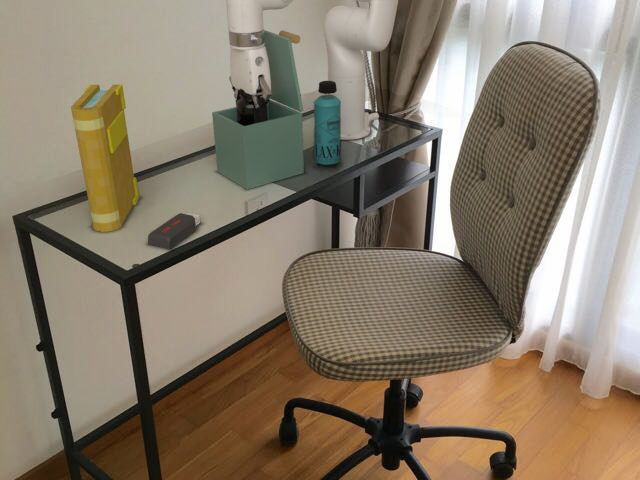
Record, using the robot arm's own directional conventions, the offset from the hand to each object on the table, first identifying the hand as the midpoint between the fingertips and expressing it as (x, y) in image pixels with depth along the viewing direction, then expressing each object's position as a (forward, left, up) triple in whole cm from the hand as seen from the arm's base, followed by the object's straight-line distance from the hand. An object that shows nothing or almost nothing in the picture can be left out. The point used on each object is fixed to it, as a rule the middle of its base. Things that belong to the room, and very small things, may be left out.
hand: (252, 119), depth 177 cm
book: (+36, +1, -13) cm, 38 cm away
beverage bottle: (-16, +7, -13) cm, 22 cm away
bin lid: (-7, 0, +10) cm, 12 cm away
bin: (-1, 0, -13) cm, 13 cm away
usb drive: (+30, +18, -13) cm, 37 cm away
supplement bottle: (0, 0, -5) cm, 5 cm away
